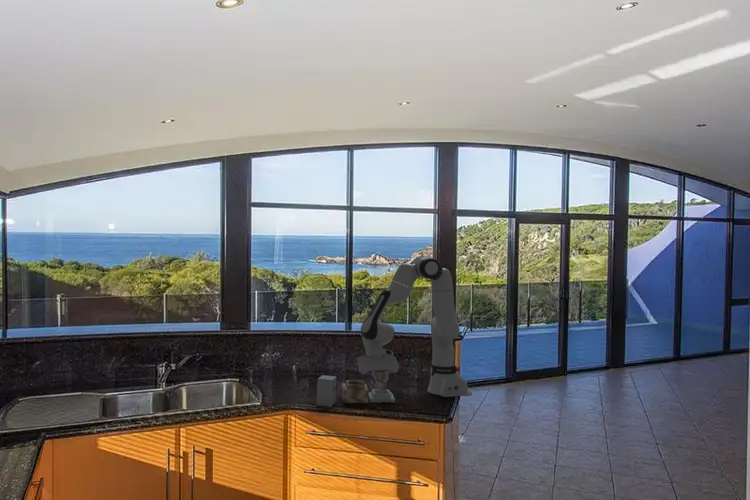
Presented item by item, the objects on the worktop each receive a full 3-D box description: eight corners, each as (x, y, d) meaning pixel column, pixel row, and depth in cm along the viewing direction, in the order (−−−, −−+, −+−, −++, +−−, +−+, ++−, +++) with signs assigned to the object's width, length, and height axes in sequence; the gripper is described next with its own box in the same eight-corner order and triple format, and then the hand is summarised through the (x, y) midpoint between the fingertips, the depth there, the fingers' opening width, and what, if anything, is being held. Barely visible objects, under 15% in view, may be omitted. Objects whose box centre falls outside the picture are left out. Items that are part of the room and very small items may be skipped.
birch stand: (365, 395, 297) (366, 379, 297) (368, 403, 285) (368, 386, 285) (341, 395, 296) (342, 379, 296) (342, 402, 284) (343, 386, 284)
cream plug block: (383, 387, 296) (384, 371, 295) (386, 389, 292) (387, 373, 292) (375, 388, 294) (376, 371, 294) (378, 390, 290) (379, 373, 290)
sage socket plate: (391, 395, 300) (391, 388, 300) (395, 402, 288) (395, 395, 288) (367, 395, 298) (367, 388, 298) (370, 402, 287) (370, 395, 286)
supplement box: (331, 407, 277) (332, 380, 276) (316, 405, 278) (317, 378, 278) (335, 402, 284) (336, 376, 283) (320, 401, 285) (321, 374, 285)
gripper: (357, 352, 295) (363, 377, 286) (396, 351, 302) (403, 375, 294) (354, 359, 299) (360, 384, 291) (392, 358, 307) (398, 382, 298)
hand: (382, 379), depth 292 cm, fingers closed on cream plug block, 4 cm apart
